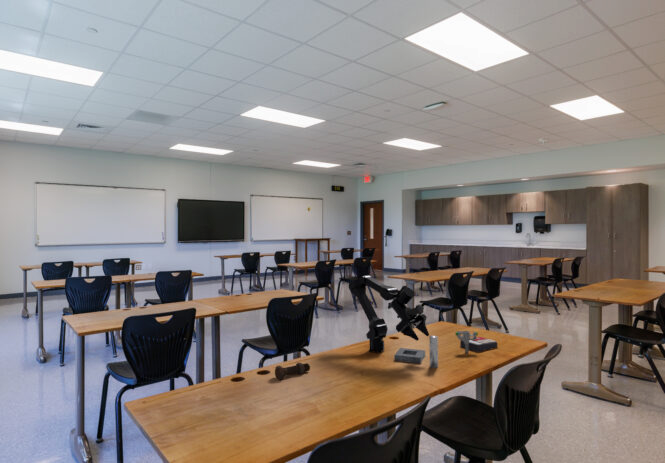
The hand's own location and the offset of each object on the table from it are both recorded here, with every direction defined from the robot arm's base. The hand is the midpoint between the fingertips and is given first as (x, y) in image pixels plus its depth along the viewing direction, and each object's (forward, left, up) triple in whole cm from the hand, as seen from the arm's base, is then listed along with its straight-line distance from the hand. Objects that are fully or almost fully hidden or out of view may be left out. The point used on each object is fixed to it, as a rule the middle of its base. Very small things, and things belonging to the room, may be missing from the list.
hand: (423, 337), depth 175 cm
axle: (+5, -2, -12) cm, 13 cm away
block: (-7, +6, -12) cm, 15 cm away
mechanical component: (+17, +24, -12) cm, 32 cm away
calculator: (+22, +36, -12) cm, 44 cm away
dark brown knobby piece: (-48, -32, -12) cm, 59 cm away
